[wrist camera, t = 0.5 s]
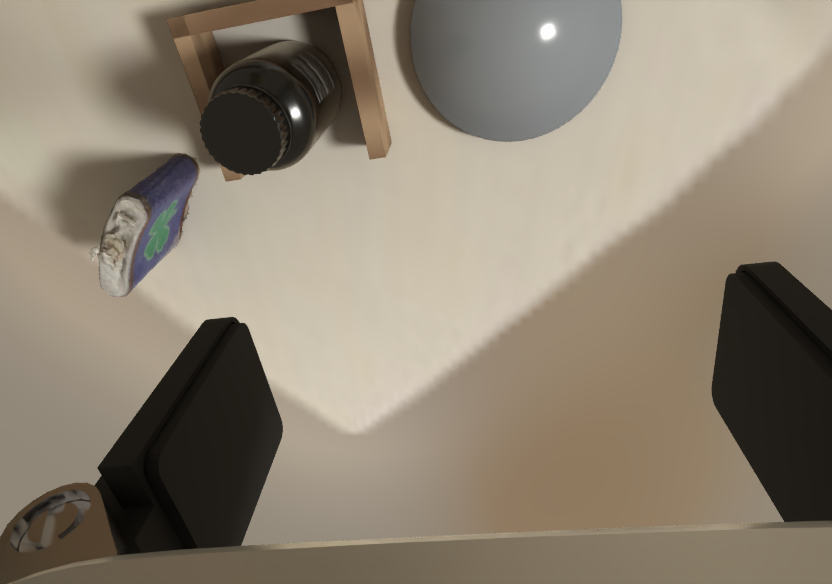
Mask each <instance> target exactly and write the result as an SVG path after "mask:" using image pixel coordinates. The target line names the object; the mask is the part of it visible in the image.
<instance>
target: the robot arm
mask: <svg viewBox="0 0 832 584" xmlns="http://www.w3.org/2000/svg"><path fill="white" fill-rule="evenodd" d="M712 397H713V401H714V405H715V407H716V409H717V410H718V412H719V413H720V415H721V417H722V419H723V420H724V422H725V424H726V425H727V426H728V429H729V430H730V432H731V433H732V435H733V437H734V438H735V440H736V442H737V444H738V445H739V447H740V448H741V450H742V452H743V454H744V455H745V457H746V458H747V460H748V462H749V463H750V465H751V467H752V469H753V470H754V472H755V473H756V475H757V477H758V478H759V480H760V482H761V483H762V485H763V487H764V488H765V490H766V492H767V493H768V495H769V497H770V498H771V500H772V502H773V503H774V505H775V507H776V508H777V510H778V512H779V513H780V515H781V517H782V518H783V520H784V522H773V523H771V522H770V523H733V524H710V525H709V524H708V525H684V526H660V527H634V528H610V529H609V528H608V529H583V530H560V531H539V532H516V533H494V534H493V533H492V534H470V535H449V536H429V537H428V536H427V537H406V538H387V539H386V538H385V539H366V540H347V541H327V542H309V543H287V544H268V545H250V546H241V544H242V542H243V539H244V536H245V534H246V531H247V528H248V526H249V523H250V521H251V518H252V515H253V513H254V510H255V507H256V505H257V502H258V499H259V497H260V494H261V491H262V489H263V486H264V483H265V481H266V478H267V475H268V473H269V470H270V468H271V465H272V462H273V460H274V457H275V454H276V451H277V449H278V446H279V444H280V441H281V438H282V432H283V426H282V420H281V417H280V414H279V412H278V409H277V406H276V403H275V401H274V398H273V395H272V392H271V389H270V387H269V384H268V381H267V378H266V376H265V373H264V370H263V367H262V364H261V362H260V359H259V356H258V353H257V351H256V348H255V345H254V342H253V339H252V337H251V334H250V331H249V329H248V327H247V325H246V324H245V323H239V321H238V320H237V319H236V318H234V317H228V318H218V319H209V320H205V321H204V322H203V323H202V325H201V326H200V328H199V329H198V330H197V332H196V333H195V334H194V336H193V337H192V339H191V340H190V341H189V343H188V344H187V345H186V347H185V348H184V349H183V351H182V352H181V354H180V355H179V356H178V358H177V359H176V360H175V362H174V363H173V365H172V366H171V367H170V369H169V370H168V372H167V373H166V374H165V376H164V377H163V378H162V380H161V381H160V382H159V384H158V385H157V387H156V388H155V389H154V391H153V392H152V394H151V395H150V396H149V398H148V399H147V400H146V402H145V403H144V404H143V406H142V407H141V409H140V410H139V411H138V413H137V414H136V416H135V417H134V418H133V420H132V421H131V422H130V424H129V425H128V426H127V428H126V429H125V431H124V432H123V433H122V435H121V436H120V437H119V439H118V440H117V441H116V443H115V444H114V446H113V447H112V449H111V450H110V451H109V452H108V454H107V455H106V457H105V458H104V459H103V461H102V462H101V464H100V465H99V466H98V470H99V471H100V473H101V475H102V476H101V477H100V479H99V480H98V481H97V483H96V484H95V486H94V485H91V484H89V483H72V484H68V485H64V486H61V487H58V488H56V489H54V490H51V491H49V492H47V493H45V494H43V495H42V496H40V497H39V498H37V499H35V500H33V501H32V502H31V503H29V504H28V505H27V506H26V507H24V508H23V509H22V510H21V511H19V512H18V513H17V515H16V516H15V517H14V518H13V519H12V520H11V521H10V522H9V523H8V524H7V526H6V528H5V530H4V531H3V533H2V535H1V536H0V584H832V310H831V309H830V308H829V307H828V306H827V305H825V304H824V303H823V302H822V301H821V300H820V299H819V298H818V297H816V296H815V295H814V294H813V293H812V292H811V291H810V290H809V289H807V288H806V287H805V286H804V285H803V284H802V283H801V282H799V280H797V279H796V278H795V277H794V276H793V275H792V274H791V273H790V272H788V271H787V270H786V269H785V268H784V267H783V266H782V265H781V264H779V263H777V262H764V263H755V264H745V265H740V266H739V267H738V269H737V270H736V273H734V274H729V275H728V277H727V279H726V284H725V291H724V299H723V306H722V314H721V321H720V329H719V336H718V344H717V351H716V358H715V366H714V374H713V381H712Z"/></svg>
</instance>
